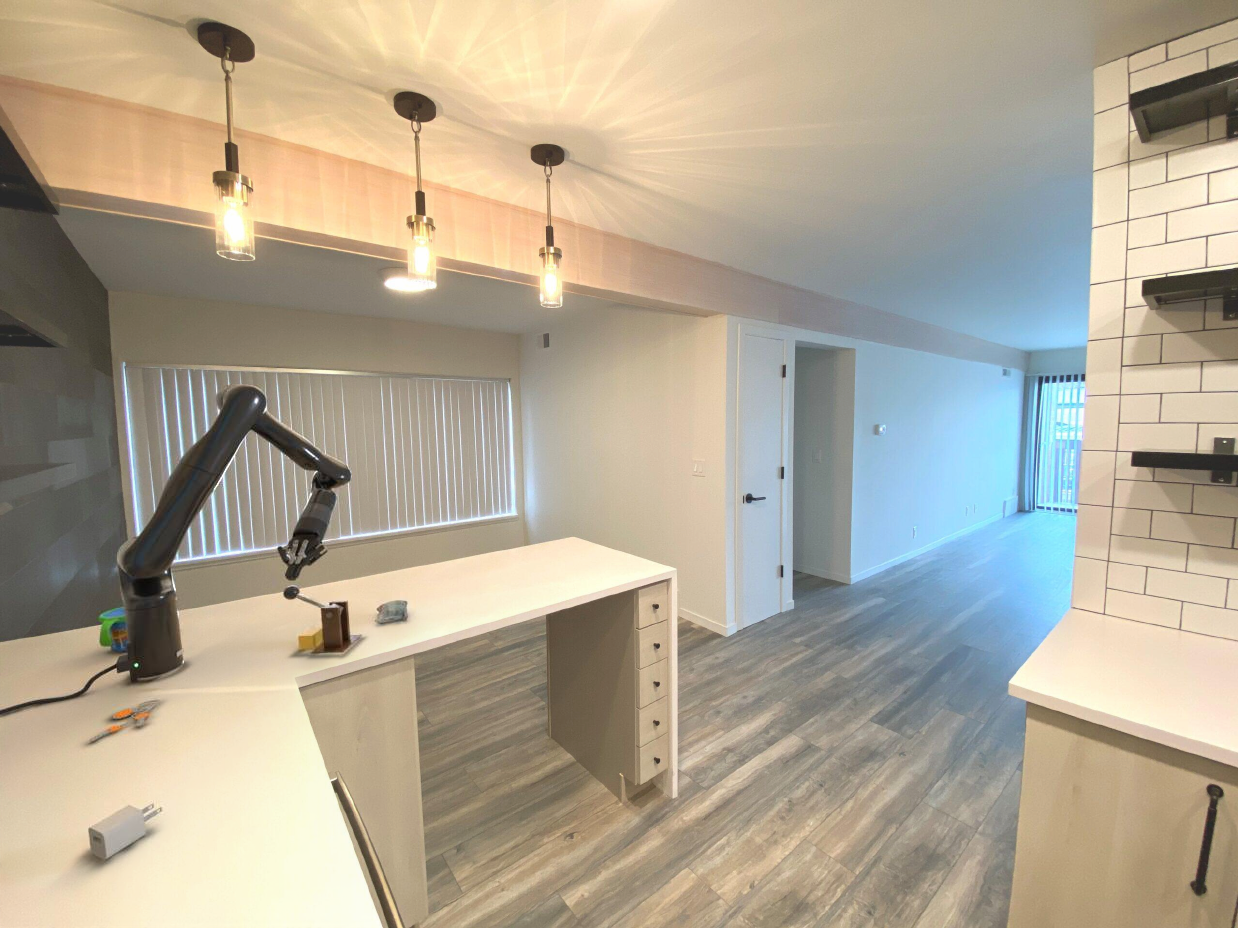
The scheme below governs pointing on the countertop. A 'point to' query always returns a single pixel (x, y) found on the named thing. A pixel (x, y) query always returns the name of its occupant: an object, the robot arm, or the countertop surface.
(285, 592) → the ball-knob lever
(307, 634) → the butter
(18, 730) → the countertop surface
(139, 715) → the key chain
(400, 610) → the packaged food
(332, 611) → the brown lever base bracket
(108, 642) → the snack cup
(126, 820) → the usb wall charger
